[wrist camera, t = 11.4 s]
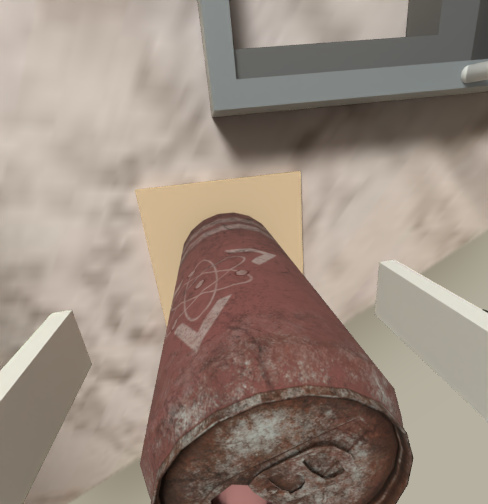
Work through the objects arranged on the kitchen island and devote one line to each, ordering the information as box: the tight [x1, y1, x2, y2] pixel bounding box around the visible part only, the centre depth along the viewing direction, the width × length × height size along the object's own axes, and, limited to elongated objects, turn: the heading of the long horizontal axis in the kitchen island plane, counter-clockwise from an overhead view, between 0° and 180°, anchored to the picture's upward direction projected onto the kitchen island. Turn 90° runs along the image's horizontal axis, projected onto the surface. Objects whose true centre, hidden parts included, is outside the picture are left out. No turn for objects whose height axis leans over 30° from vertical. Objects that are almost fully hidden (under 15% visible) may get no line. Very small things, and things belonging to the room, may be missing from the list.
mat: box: [135, 171, 303, 326], centre depth 19 cm, size 10×10×1 cm
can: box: [140, 212, 413, 504], centre depth 12 cm, size 6×6×14 cm
